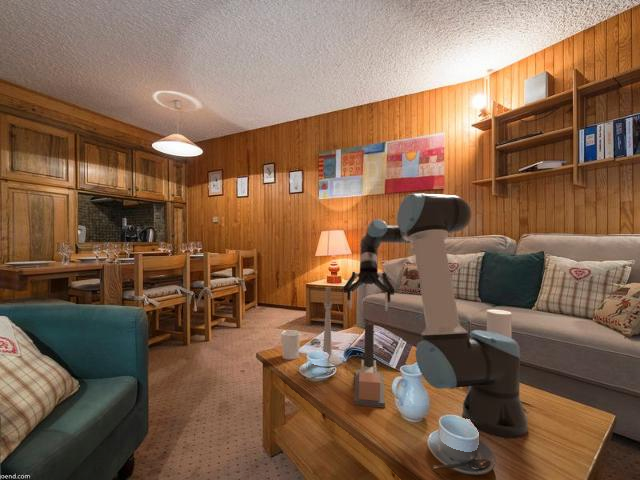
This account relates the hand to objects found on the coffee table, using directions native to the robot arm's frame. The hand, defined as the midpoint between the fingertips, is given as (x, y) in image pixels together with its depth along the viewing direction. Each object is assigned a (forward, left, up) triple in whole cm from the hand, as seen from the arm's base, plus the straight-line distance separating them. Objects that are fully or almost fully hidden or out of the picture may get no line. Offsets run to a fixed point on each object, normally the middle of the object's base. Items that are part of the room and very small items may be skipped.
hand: (368, 307), depth 115 cm
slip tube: (-9, +9, -21) cm, 24 cm away
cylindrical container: (-36, -25, -23) cm, 50 cm away
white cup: (+26, +19, -23) cm, 39 cm away
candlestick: (+14, +9, -23) cm, 28 cm away
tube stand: (-12, +12, -23) cm, 28 cm away
